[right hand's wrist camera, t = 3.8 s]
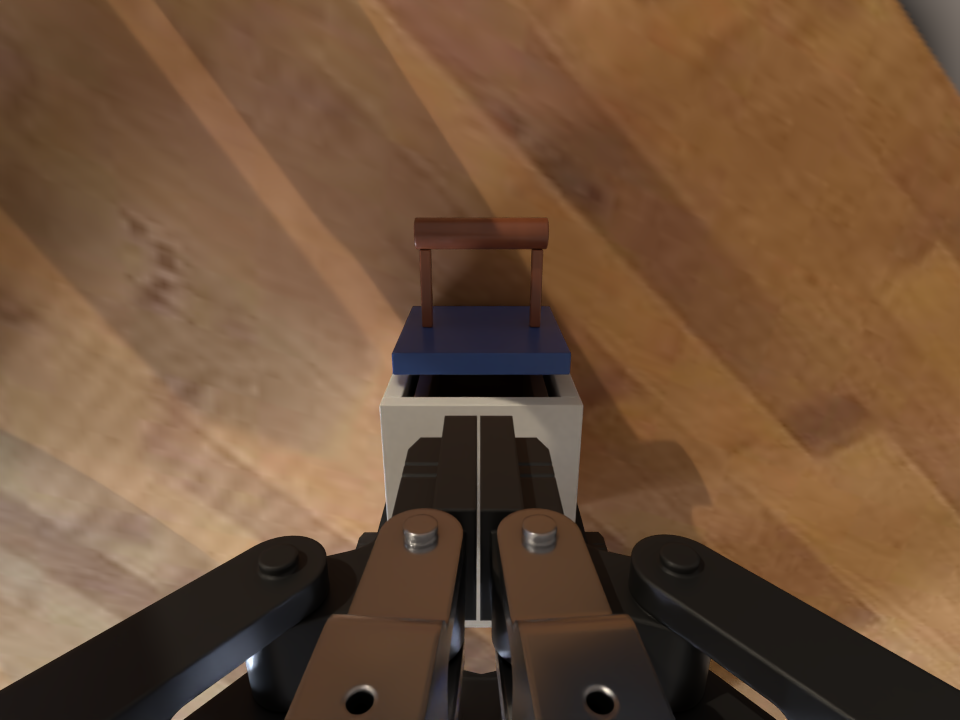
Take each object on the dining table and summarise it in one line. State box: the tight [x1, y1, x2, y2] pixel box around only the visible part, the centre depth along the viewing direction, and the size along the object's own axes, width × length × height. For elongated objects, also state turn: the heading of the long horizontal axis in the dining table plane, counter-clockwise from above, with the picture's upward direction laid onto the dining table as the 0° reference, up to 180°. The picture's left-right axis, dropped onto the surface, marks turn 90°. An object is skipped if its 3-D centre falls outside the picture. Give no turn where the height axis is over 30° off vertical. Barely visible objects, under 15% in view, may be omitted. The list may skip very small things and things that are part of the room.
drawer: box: [392, 218, 571, 397], centre depth 34 cm, size 19×9×9 cm, turn 0°
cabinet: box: [380, 374, 583, 627], centre depth 36 cm, size 14×10×11 cm
